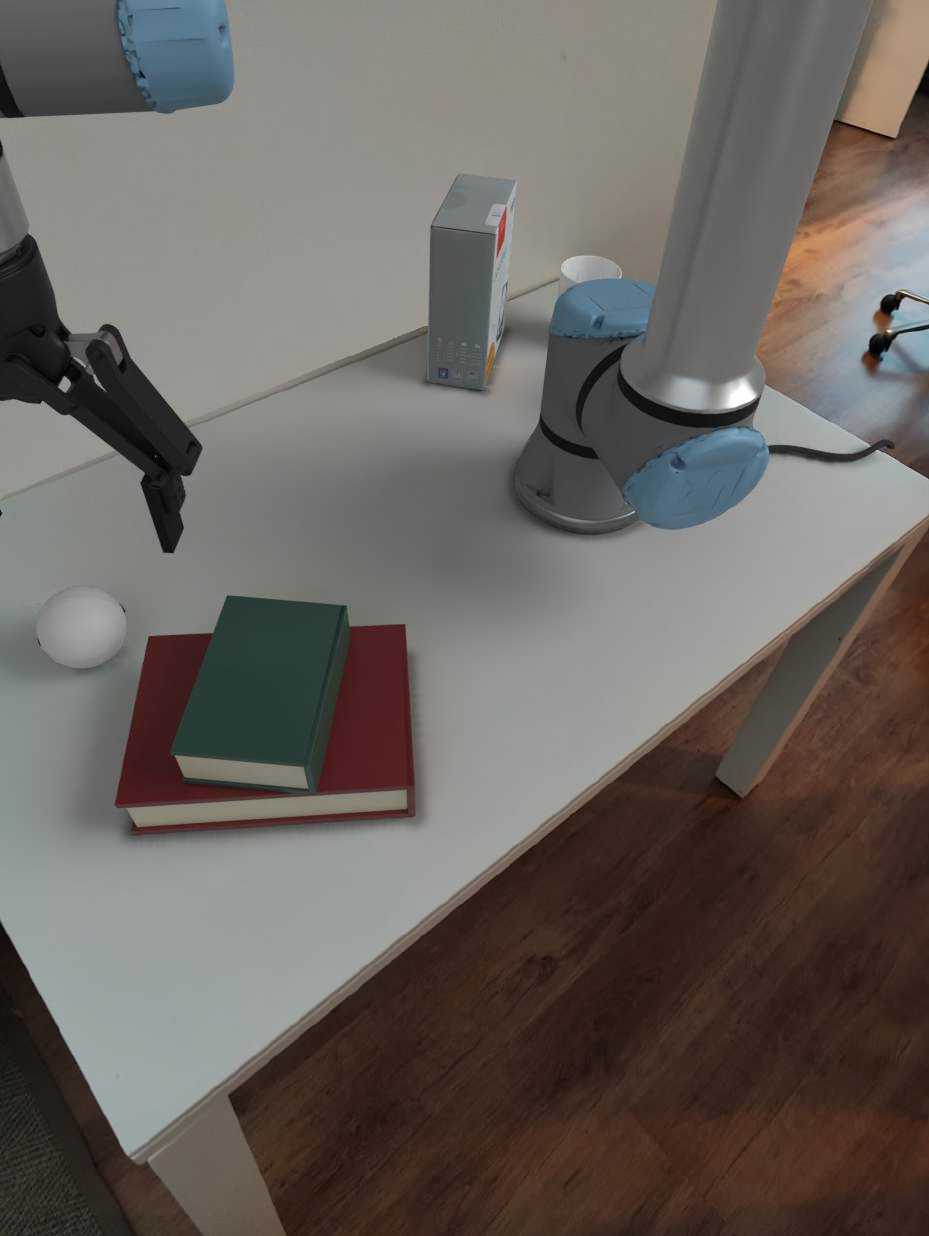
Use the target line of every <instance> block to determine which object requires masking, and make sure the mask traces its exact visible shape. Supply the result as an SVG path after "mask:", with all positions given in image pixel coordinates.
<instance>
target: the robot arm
mask: <svg viewBox="0 0 929 1236" xmlns="http://www.w3.org/2000/svg"><path fill="white" fill-rule="evenodd" d="M874 1H875V0H717V2H716V6H715V10H714V15H713V19H712V25H711V29H710V35H709V39H708V41H707V42H708V43H707V46H706V53H705V57H704V61H703V66H702V71H701V74H700V81H699V83H698V84H699V85H698V89H697V94H696V97H695V102H694V107H693V112H692V117H691V121H690V124H689V125H690V126H689V131H688V134H687V139H686V144H685V149H684V153H683V158H682V163H681V167H680V171H679V176H678V181H677V185H676V189H675V195H674V199H673V202H672V203H673V204H672V209H671V212H670V217H669V222H668V226H667V231H666V236H665V240H664V245H663V248H662V249H663V250H662V253H661V258H660V263H659V268H658V272H657V277H656V282H655V284H654V283H650V282H647V281H642V280H637V279H631V278H621V279H619V278H608V279H597V280H590V281H585V282H582V283H579V284H576V285H574V286H572V287H570V288H568V289H567V290H566V291H565V292H563V293H562V294H561V295H560V296H559V298H558V297H557V299H556V301H555V303H554V308H553V312H552V316H551V319H550V323H549V325H548V332H549V334H548V341H547V342H548V343H547V351H546V360H545V367H544V368H545V369H544V376H543V386H542V394H541V401H540V411H539V418H538V422H537V424H536V426H535V428H534V429H533V432H532V433H531V435H530V436H529V438H528V439H527V441H526V442H525V445H524V446H523V447H522V449H521V453H520V456H519V457H518V459H517V463H516V469H515V476H514V477H515V479H514V487H515V492H516V494H517V497H518V499H519V500H520V502H521V504H522V505H523V506H524V507H525V508H526V510H527V511H529V513H531V514H532V515H533V516H535V517H536V518H537V519H539V520H541V521H542V522H544V523H546V524H548V525H550V526H552V527H555V528H558V529H561V530H564V531H567V532H572V533H573V532H574V533H578V534H579V533H580V534H604V533H610V532H611V533H612V532H614V531H615V532H616V531H619V530H622V529H625V528H626V527H629V526H630V525H632V524H634V523H635V522H637V521H638V520H639V519H640V520H641V521H643V522H644V523H645V524H648V525H649V526H650V527H653V528H656V529H659V530H666V531H676V530H683V529H688V528H692V527H693V528H694V527H696V526H700V525H702V524H705V523H707V522H709V521H712V520H714V519H716V518H718V517H720V516H722V515H723V514H725V513H726V512H727V511H729V510H730V509H733V508H734V507H736V506H737V505H738V504H739V503H740V502H741V503H742V501H743V500H745V498H747V497H748V496H749V495H750V494H751V493H752V492H753V490H755V488H756V487H757V486H758V485H759V483H760V481H761V480H762V478H763V477H764V475H765V473H766V471H767V469H768V466H769V462H770V453H780V452H781V453H783V452H784V453H794V454H799V455H806V456H810V457H814V458H819V459H825V460H831V461H843V462H846V461H849V462H850V461H856V460H857V461H858V460H861V459H863V458H865V457H868V456H871V454H874V453H875V452H877V451H878V450H880V449H882V448H884V447H886V448H887V449H889V450H894V449H895V448H896V444H895V443H894V442H893V441H892V440H890V439H887V438H885V439H880V440H879V441H877V442H875V443H874V444H872V445H870V446H869V447H867V448H864V449H863V450H861V451H858V452H852V453H837V452H829V451H824V450H818V449H814V448H810V447H805V446H799V445H790V444H770V445H767V444H766V443H767V442H766V439H765V436H764V435H763V434H762V432H761V431H758V430H756V429H755V428H754V419H755V415H756V413H757V409H758V406H759V404H760V400H761V398H762V395H763V392H764V389H765V386H766V381H767V380H766V379H767V375H766V370H765V368H764V366H763V364H762V363H761V361H760V360H759V358H758V357H757V355H756V352H757V349H758V346H759V344H760V339H761V337H762V334H763V331H764V328H765V325H766V322H767V319H768V317H769V313H770V311H771V308H772V304H773V301H774V298H775V295H776V293H777V289H778V286H779V284H780V281H781V278H782V275H783V272H784V268H785V266H786V262H787V259H788V256H789V254H790V251H791V248H792V246H793V245H792V244H793V241H794V239H795V236H796V233H797V230H798V227H799V225H800V222H801V218H802V216H803V215H802V214H803V212H804V209H805V206H806V203H807V200H808V197H809V195H810V192H811V188H812V185H813V182H814V179H815V177H816V173H817V171H818V168H819V164H820V162H821V158H822V155H823V152H824V149H825V146H826V143H827V140H828V138H829V134H830V131H831V128H832V127H833V126H832V125H833V123H834V119H835V116H836V114H837V111H838V108H839V105H840V102H841V99H842V96H843V92H844V89H845V87H846V84H847V81H848V78H849V75H850V72H851V69H852V66H853V63H854V61H855V57H856V54H857V51H858V49H859V45H860V42H861V39H862V36H863V33H864V30H865V27H866V25H867V21H868V19H869V16H870V13H871V9H872V7H873V4H874ZM228 16H229V15H228V10H227V5H226V0H0V119H23V118H36V117H37V118H38V117H59V116H60V117H61V116H77V115H78V116H82V115H102V114H103V115H104V114H105V115H106V114H126V113H127V114H128V113H150V112H156V113H157V114H164V115H169V114H170V115H171V114H173V113H175V112H176V111H180V110H187V109H193V108H201V107H207V106H213V105H219V104H222V103H224V102H225V101H226V100H228V98H229V97H230V96H231V95H232V92H233V89H234V86H235V85H234V84H235V63H234V53H233V45H232V38H231V30H230V24H229V17H228ZM6 155H7V154H6V153H5V149H4V146H3V142H2V141H1V139H0V402H6V401H11V400H15V401H19V402H22V403H26V404H31V405H41V404H42V402H43V403H45V404H47V406H48V407H50V408H51V409H52V410H54V411H55V412H56V413H58V414H59V415H61V416H70V417H72V418H74V419H75V420H76V421H77V422H78V423H80V424H81V425H82V426H83V427H85V428H86V429H88V430H89V431H90V432H91V433H93V434H94V435H95V436H96V437H98V438H99V439H100V440H102V441H104V443H106V444H107V445H108V446H109V447H111V448H112V449H113V450H115V451H116V452H117V453H118V454H120V455H121V456H122V457H124V459H126V460H127V461H129V463H131V464H133V465H134V466H135V467H137V468H138V469H139V470H140V471H142V472H143V473H144V474H143V476H142V478H141V480H140V482H139V484H140V487H141V490H142V494H143V496H144V499H145V502H146V506H147V509H148V511H149V513H150V517H151V521H152V523H153V527H154V529H155V532H156V535H157V538H158V540H159V541H158V542H159V545H160V547H161V550H162V553H163V554H174V553H175V551H176V549H177V547H178V544H179V541H180V539H181V537H182V534H183V532H184V530H185V526H184V522H183V518H182V516H181V515H182V514H181V510H182V508H183V505H184V503H185V501H186V497H187V491H186V489H185V486H184V481H183V478H182V477H190V476H191V475H192V474H193V472H194V470H195V467H196V465H197V463H198V461H199V459H200V457H201V454H202V451H203V450H204V448H203V445H202V443H201V442H200V441H199V439H198V438H197V437H196V436H195V434H194V433H193V432H192V431H191V429H190V428H189V427H188V426H187V425H186V423H185V422H184V421H183V420H182V419H181V417H180V416H179V415H178V414H177V412H176V411H175V410H174V409H173V408H172V407H171V406H170V404H169V403H168V402H167V399H165V398H164V397H163V395H162V394H161V393H160V392H159V391H158V390H157V387H155V385H153V383H152V382H151V381H150V380H149V378H148V377H147V376H146V375H145V373H144V372H143V371H142V369H140V367H139V366H138V365H137V364H136V363H135V361H134V360H133V358H131V355H130V353H129V351H128V347H127V345H126V343H125V341H124V338H123V336H122V334H121V332H120V330H119V329H118V328H117V327H116V326H115V325H112V324H111V323H104V324H102V325H101V326H100V327H99V329H98V330H97V331H96V332H89V333H83V332H82V333H73V332H71V330H70V329H69V328H67V326H66V325H65V323H63V321H62V319H61V318H60V315H59V312H58V306H57V299H56V294H55V290H54V287H53V285H52V282H51V279H50V276H49V274H48V270H47V268H46V265H45V261H44V259H43V256H42V254H41V252H40V248H39V246H38V245H39V244H38V243H37V240H36V239H35V237H33V236H32V235H31V234H30V233H29V229H30V222H29V218H28V216H27V213H26V211H25V207H24V205H23V201H22V198H21V196H20V193H19V190H18V187H17V185H16V181H15V179H14V177H13V173H12V170H11V167H10V163H9V161H8V159H7V156H6ZM76 359H78V360H79V361H81V362H82V363H83V364H84V365H85V366H84V365H82V364H81V363H80V362H79V361H78V360H76ZM94 375H95V376H94ZM64 378H66V379H67V380H68V381H69V383H70V385H69V386H68V388H67V390H66V391H64V390H62V389H61V388H60V387H59V386H60V385H61V383H62V381H63V379H64ZM95 378H96V380H97V381H98V382H99V384H100V385H101V386H100V385H98V383H96V380H95ZM2 515H3V512H2V509H0V518H1V516H2Z"/></svg>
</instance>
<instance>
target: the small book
mask: <svg viewBox="0 0 929 1236" xmlns="http://www.w3.org/2000/svg"><path fill="white" fill-rule="evenodd" d="M349 619H350V618H349V611H348V605H346V604H337V603H335V604H333V603H325V602H324V603H322V602H310V601H301V600H300V601H299V600H290V599H289V600H288V599H276V598H267V597H266V598H265V597H254V596H242V595H230V594H227V595H226V597H225V599H224V602H223V605H222V608H221V610H220V613H219V616H218V619H217V621H216V624H215V627H214V630H213V632H212V633H213V635H212V638H211V640H210V643H209V646H208V648H207V651H206V654H205V657H204V659H203V662H202V665H201V668H200V670H199V673H198V676H197V679H196V681H195V684H194V687H193V689H192V692H191V695H190V698H189V700H188V703H187V706H186V709H185V711H184V714H183V717H182V719H181V722H180V725H179V728H178V730H177V733H176V736H175V739H174V741H173V744H172V747H171V750H170V753H171V755H175V757H176V760H177V762H178V764H179V766H180V768H181V771H182V773H183V775H184V777H183V782H184V783H190V784H201V785H212V786H223V787H233V788H244V789H255V790H266V791H276V792H287V793H298V794H308V795H316V793H317V789H318V785H319V780H320V776H321V771H322V767H323V762H324V758H325V753H326V749H327V744H328V740H329V735H330V731H331V726H332V722H333V717H334V713H335V708H336V704H337V699H338V695H339V690H340V686H341V681H342V677H343V672H344V668H345V664H346V659H347V655H348V650H349V646H350V641H351V637H350V628H349V627H350V620H349Z"/></svg>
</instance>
